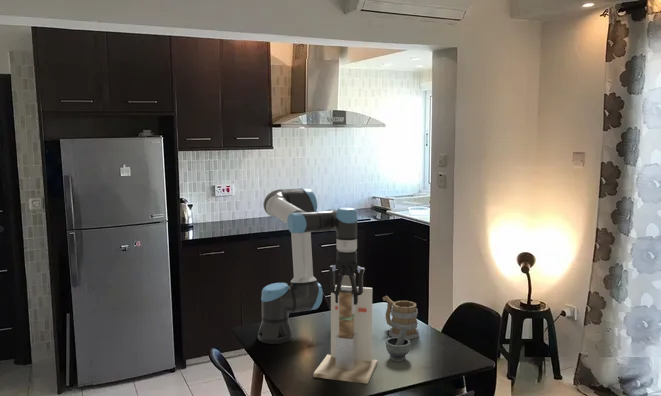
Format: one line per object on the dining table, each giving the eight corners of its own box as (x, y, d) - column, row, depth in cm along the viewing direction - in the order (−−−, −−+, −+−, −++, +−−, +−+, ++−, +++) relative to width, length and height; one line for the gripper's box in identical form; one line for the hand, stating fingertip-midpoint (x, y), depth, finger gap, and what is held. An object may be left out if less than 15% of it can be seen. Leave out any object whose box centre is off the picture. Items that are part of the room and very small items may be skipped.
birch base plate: (313, 376, 198) (313, 373, 198) (327, 358, 215) (327, 354, 215) (367, 383, 193) (367, 379, 193) (377, 363, 210) (377, 360, 210)
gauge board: (330, 357, 212) (330, 286, 209) (331, 355, 214) (331, 284, 211) (370, 362, 208) (371, 289, 205) (371, 360, 210) (372, 287, 207)
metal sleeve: (335, 368, 202) (335, 337, 200) (340, 361, 208) (340, 331, 207) (352, 370, 200) (353, 339, 199) (356, 363, 206) (357, 333, 205)
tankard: (424, 336, 240) (425, 302, 238) (402, 342, 233) (403, 307, 231) (394, 323, 256) (394, 292, 255) (373, 328, 249) (373, 296, 248)
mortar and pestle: (402, 365, 208) (402, 335, 207) (381, 359, 214) (381, 330, 213) (415, 356, 218) (416, 326, 216) (395, 350, 223) (395, 322, 222)
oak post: (338, 353, 202) (338, 290, 199) (342, 348, 206) (342, 286, 204) (350, 354, 201) (351, 291, 198) (353, 350, 205) (354, 287, 202)
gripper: (320, 250, 198) (321, 313, 201) (368, 253, 193) (367, 317, 196) (326, 246, 205) (326, 307, 208) (372, 249, 200) (371, 311, 203)
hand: (346, 312), depth 202 cm, fingers closed on oak post, 4 cm apart
